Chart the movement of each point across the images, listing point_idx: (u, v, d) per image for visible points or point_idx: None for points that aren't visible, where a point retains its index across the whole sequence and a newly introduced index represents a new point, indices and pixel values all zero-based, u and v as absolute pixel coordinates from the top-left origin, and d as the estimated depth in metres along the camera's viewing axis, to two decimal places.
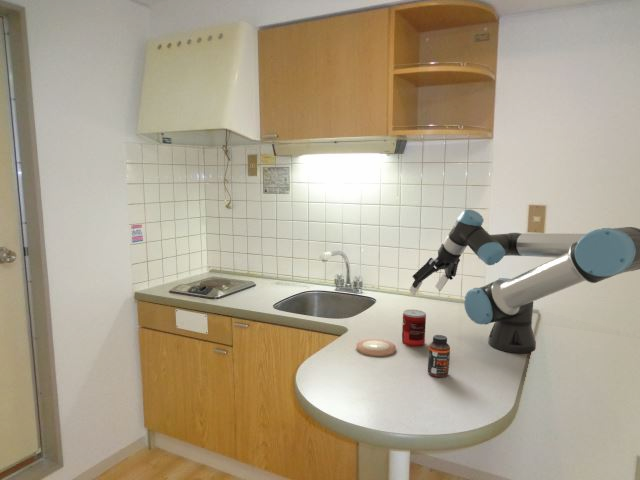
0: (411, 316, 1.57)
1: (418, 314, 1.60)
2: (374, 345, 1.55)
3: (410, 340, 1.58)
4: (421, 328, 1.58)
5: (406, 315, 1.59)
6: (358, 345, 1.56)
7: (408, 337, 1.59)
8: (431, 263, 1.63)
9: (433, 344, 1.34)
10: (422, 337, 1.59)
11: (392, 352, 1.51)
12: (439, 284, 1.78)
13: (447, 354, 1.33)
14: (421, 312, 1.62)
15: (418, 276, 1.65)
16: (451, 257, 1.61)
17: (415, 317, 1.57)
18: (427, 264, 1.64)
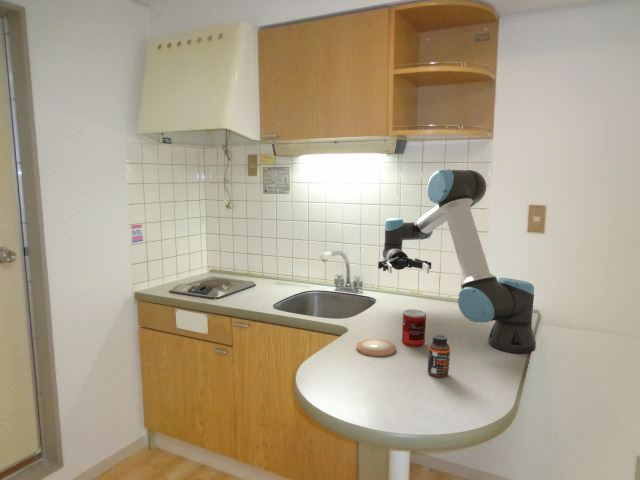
0: (411, 316, 1.57)
1: (418, 314, 1.60)
2: (374, 345, 1.55)
3: (410, 340, 1.58)
4: (421, 328, 1.58)
5: (406, 315, 1.59)
6: (358, 345, 1.56)
7: (408, 337, 1.59)
8: None
9: (433, 344, 1.34)
10: (422, 337, 1.59)
11: (392, 352, 1.51)
12: (425, 269, 1.71)
13: (447, 354, 1.33)
14: (421, 312, 1.62)
15: None
16: (393, 252, 1.88)
17: (415, 317, 1.57)
18: None
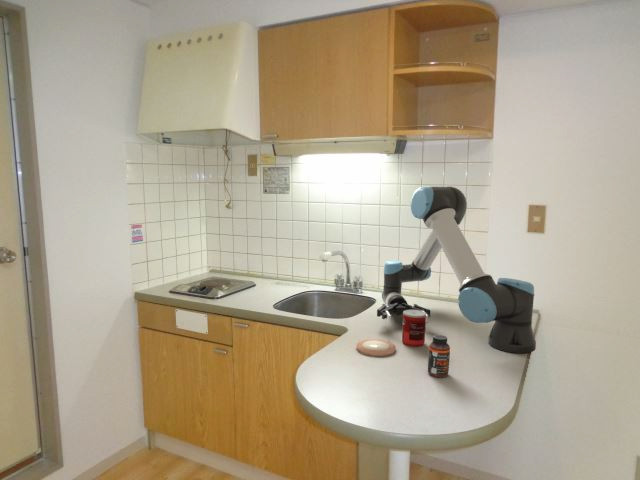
0: (411, 316, 1.57)
1: (418, 314, 1.60)
2: (374, 345, 1.55)
3: (410, 340, 1.58)
4: (421, 328, 1.58)
5: (406, 315, 1.59)
6: (358, 345, 1.56)
7: (408, 337, 1.59)
8: (382, 306, 1.83)
9: (433, 344, 1.34)
10: (422, 337, 1.59)
11: (392, 352, 1.51)
12: None
13: (447, 354, 1.33)
14: (421, 312, 1.62)
15: None
16: (392, 297, 1.88)
17: (415, 317, 1.57)
18: None
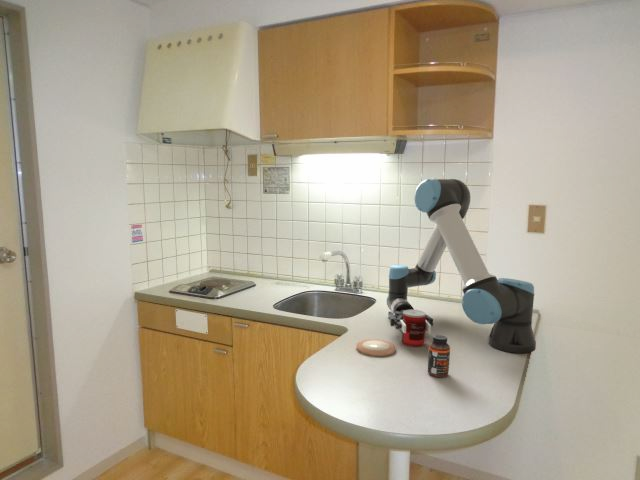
0: (411, 316, 1.57)
1: (418, 314, 1.60)
2: (374, 345, 1.55)
3: (410, 340, 1.58)
4: (421, 328, 1.58)
5: (406, 315, 1.59)
6: (358, 345, 1.56)
7: (408, 337, 1.59)
8: (389, 314, 1.72)
9: (433, 344, 1.34)
10: (422, 337, 1.59)
11: (392, 352, 1.51)
12: (426, 327, 1.59)
13: (447, 354, 1.33)
14: (421, 312, 1.62)
15: (390, 319, 1.65)
16: (398, 303, 1.77)
17: (415, 317, 1.57)
18: (390, 318, 1.70)
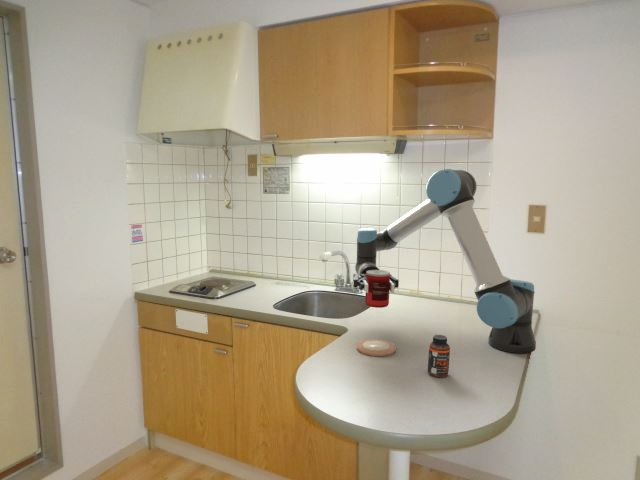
0: (374, 275, 1.49)
1: (382, 273, 1.52)
2: (374, 345, 1.55)
3: (373, 301, 1.50)
4: (384, 288, 1.50)
5: (369, 274, 1.50)
6: (358, 345, 1.56)
7: (371, 297, 1.50)
8: (353, 276, 1.63)
9: (433, 344, 1.34)
10: (386, 297, 1.50)
11: (392, 352, 1.51)
12: (390, 288, 1.50)
13: (447, 354, 1.33)
14: (385, 272, 1.53)
15: (354, 280, 1.57)
16: (364, 266, 1.69)
17: (378, 276, 1.49)
18: None
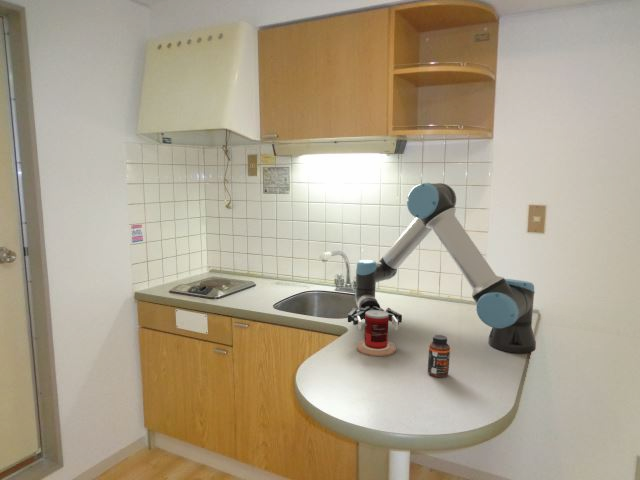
0: (373, 317, 1.51)
1: (381, 315, 1.53)
2: None
3: (372, 342, 1.52)
4: (383, 330, 1.51)
5: (368, 316, 1.52)
6: (358, 345, 1.56)
7: (370, 338, 1.52)
8: (352, 310, 1.66)
9: (433, 344, 1.34)
10: (384, 339, 1.52)
11: (392, 352, 1.51)
12: (394, 324, 1.53)
13: (447, 354, 1.33)
14: (384, 313, 1.55)
15: None
16: (363, 300, 1.71)
17: (377, 318, 1.51)
18: None
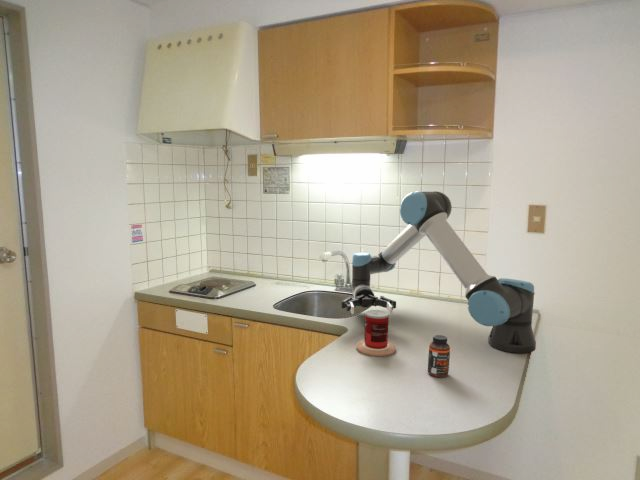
0: (373, 317, 1.51)
1: (380, 315, 1.53)
2: None
3: (372, 342, 1.52)
4: (383, 330, 1.51)
5: (368, 316, 1.52)
6: (358, 345, 1.56)
7: (370, 338, 1.52)
8: None
9: (433, 344, 1.34)
10: (384, 339, 1.52)
11: (392, 352, 1.51)
12: (389, 309, 1.67)
13: (447, 354, 1.33)
14: (384, 313, 1.55)
15: None
16: (359, 289, 1.83)
17: (377, 318, 1.50)
18: None
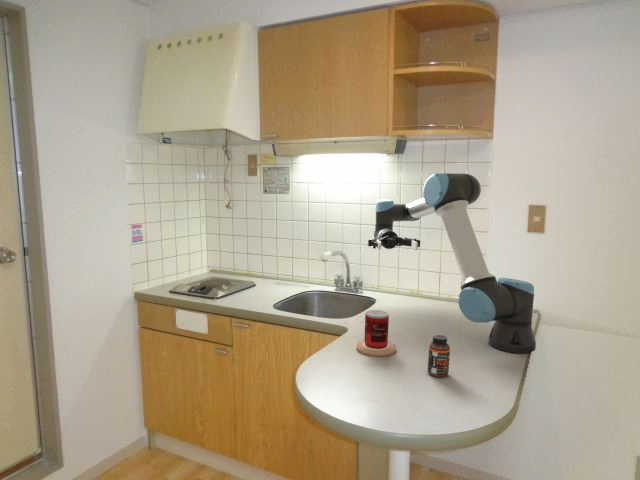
0: (373, 317, 1.51)
1: (381, 315, 1.53)
2: None
3: (372, 342, 1.52)
4: (383, 330, 1.51)
5: (368, 316, 1.52)
6: (358, 345, 1.56)
7: (370, 338, 1.52)
8: None
9: (433, 344, 1.34)
10: (384, 339, 1.52)
11: (392, 352, 1.51)
12: (414, 246, 1.75)
13: (447, 354, 1.33)
14: (384, 313, 1.55)
15: None
16: (383, 231, 1.91)
17: (377, 318, 1.51)
18: None
